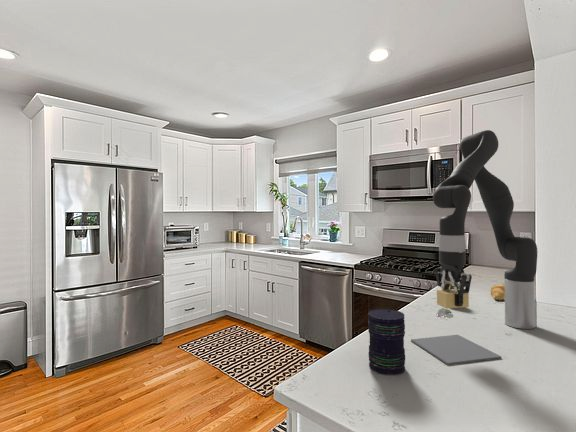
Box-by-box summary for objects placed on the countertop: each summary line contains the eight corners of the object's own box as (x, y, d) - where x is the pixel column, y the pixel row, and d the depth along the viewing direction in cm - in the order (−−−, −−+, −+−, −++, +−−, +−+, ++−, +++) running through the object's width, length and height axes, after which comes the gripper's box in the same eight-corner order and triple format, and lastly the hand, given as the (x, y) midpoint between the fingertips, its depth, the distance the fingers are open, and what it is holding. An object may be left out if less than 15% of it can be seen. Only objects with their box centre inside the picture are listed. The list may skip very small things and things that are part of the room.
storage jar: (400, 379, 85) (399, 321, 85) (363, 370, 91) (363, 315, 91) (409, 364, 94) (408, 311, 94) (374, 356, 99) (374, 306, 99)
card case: (436, 304, 105) (436, 290, 105) (458, 302, 106) (458, 289, 106) (446, 308, 101) (446, 293, 101) (468, 307, 102) (468, 292, 102)
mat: (457, 336, 114) (457, 334, 114) (501, 358, 97) (501, 356, 97) (410, 341, 110) (410, 339, 110) (447, 365, 93) (447, 363, 93)
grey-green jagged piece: (440, 328, 126) (440, 326, 126) (421, 323, 131) (421, 321, 131) (459, 314, 140) (459, 311, 140) (440, 309, 145) (440, 307, 145)
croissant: (502, 309, 156) (511, 296, 153) (481, 296, 163) (489, 283, 160) (514, 300, 171) (522, 287, 168) (494, 288, 177) (502, 276, 174)
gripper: (427, 247, 110) (427, 298, 110) (457, 252, 96) (458, 311, 96) (447, 246, 111) (447, 297, 111) (480, 251, 97) (480, 309, 97)
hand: (452, 303), depth 103 cm, fingers closed on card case, 5 cm apart
